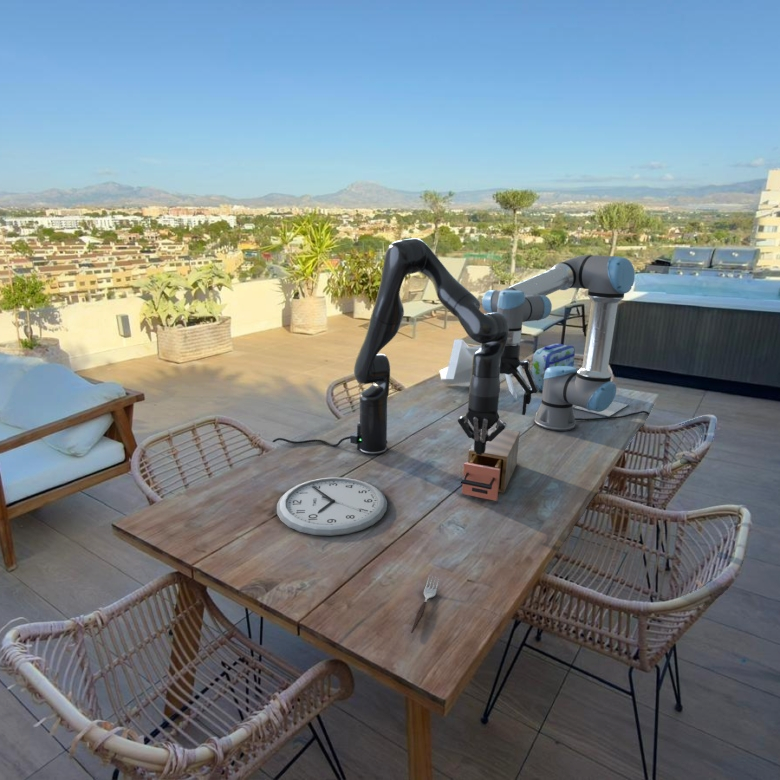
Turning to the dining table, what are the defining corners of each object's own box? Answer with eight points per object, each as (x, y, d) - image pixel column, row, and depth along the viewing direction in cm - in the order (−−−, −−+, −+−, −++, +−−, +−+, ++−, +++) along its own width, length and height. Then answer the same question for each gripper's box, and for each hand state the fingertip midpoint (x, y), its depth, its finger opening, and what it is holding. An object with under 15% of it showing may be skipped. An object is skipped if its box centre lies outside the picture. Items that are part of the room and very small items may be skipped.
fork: (404, 633, 98) (405, 624, 97) (428, 582, 112) (428, 574, 112) (418, 637, 97) (418, 628, 97) (440, 584, 111) (440, 576, 111)
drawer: (492, 511, 139) (494, 479, 137) (456, 503, 143) (458, 472, 140) (510, 472, 162) (512, 444, 159) (478, 466, 166) (480, 438, 163)
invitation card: (608, 416, 214) (573, 407, 224) (608, 416, 214) (573, 408, 224) (628, 404, 229) (594, 396, 238) (628, 405, 229) (594, 397, 238)
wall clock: (392, 527, 129) (268, 531, 127) (391, 533, 130) (269, 537, 127) (383, 473, 158) (282, 475, 155) (383, 478, 158) (282, 480, 156)
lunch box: (547, 395, 239) (552, 351, 233) (526, 390, 247) (530, 347, 240) (574, 384, 257) (579, 343, 251) (554, 380, 264) (558, 339, 258)
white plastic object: (461, 429, 252) (437, 405, 227) (444, 352, 274) (420, 323, 250) (535, 404, 240) (518, 377, 215) (510, 326, 262) (492, 293, 237)
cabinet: (503, 493, 151) (507, 456, 148) (466, 485, 155) (468, 450, 152) (516, 464, 170) (519, 431, 166) (483, 458, 174) (485, 426, 170)
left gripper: (455, 392, 133) (451, 454, 138) (507, 399, 128) (501, 463, 133) (463, 384, 139) (459, 444, 145) (512, 390, 135) (507, 452, 140)
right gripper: (463, 341, 157) (459, 408, 163) (549, 350, 148) (541, 420, 154) (469, 337, 164) (465, 401, 170) (552, 345, 155) (544, 412, 161)
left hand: (479, 453), depth 139 cm, fingers closed
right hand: (501, 410), depth 162 cm, fingers open, 13 cm apart
